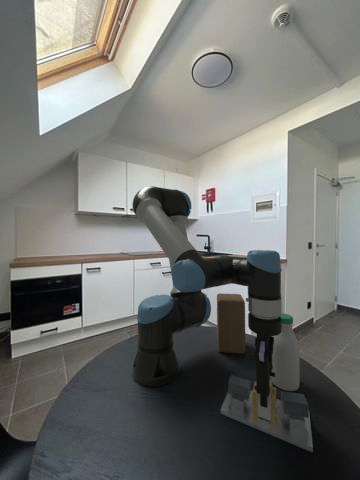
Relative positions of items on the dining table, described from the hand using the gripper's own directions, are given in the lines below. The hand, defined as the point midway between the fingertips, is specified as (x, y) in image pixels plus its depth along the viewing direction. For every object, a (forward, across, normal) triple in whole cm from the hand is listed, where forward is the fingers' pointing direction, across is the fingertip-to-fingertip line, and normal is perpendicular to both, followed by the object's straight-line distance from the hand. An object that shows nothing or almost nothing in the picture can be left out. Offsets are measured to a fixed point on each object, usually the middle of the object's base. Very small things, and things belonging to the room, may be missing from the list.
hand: (265, 409), depth 49 cm
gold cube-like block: (0, 0, 0) cm, 0 cm away
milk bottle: (+1, -14, +4) cm, 15 cm away
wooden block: (+1, -26, -16) cm, 31 cm away
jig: (+1, 0, 0) cm, 1 cm away
